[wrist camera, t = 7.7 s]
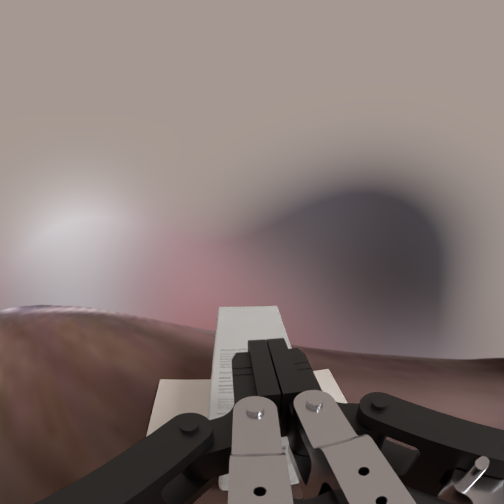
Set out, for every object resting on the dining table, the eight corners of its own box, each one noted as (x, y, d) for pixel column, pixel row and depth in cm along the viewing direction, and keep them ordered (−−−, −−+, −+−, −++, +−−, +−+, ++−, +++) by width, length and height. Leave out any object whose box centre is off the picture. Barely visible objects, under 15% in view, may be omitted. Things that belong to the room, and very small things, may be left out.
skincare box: (218, 492, 14) (218, 375, 29) (306, 485, 15) (275, 373, 29) (205, 417, 12) (214, 305, 27) (324, 408, 13) (277, 302, 27)
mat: (327, 374, 29) (328, 368, 29) (369, 454, 17) (372, 448, 17) (161, 384, 27) (160, 379, 27) (142, 474, 16) (139, 468, 15)
